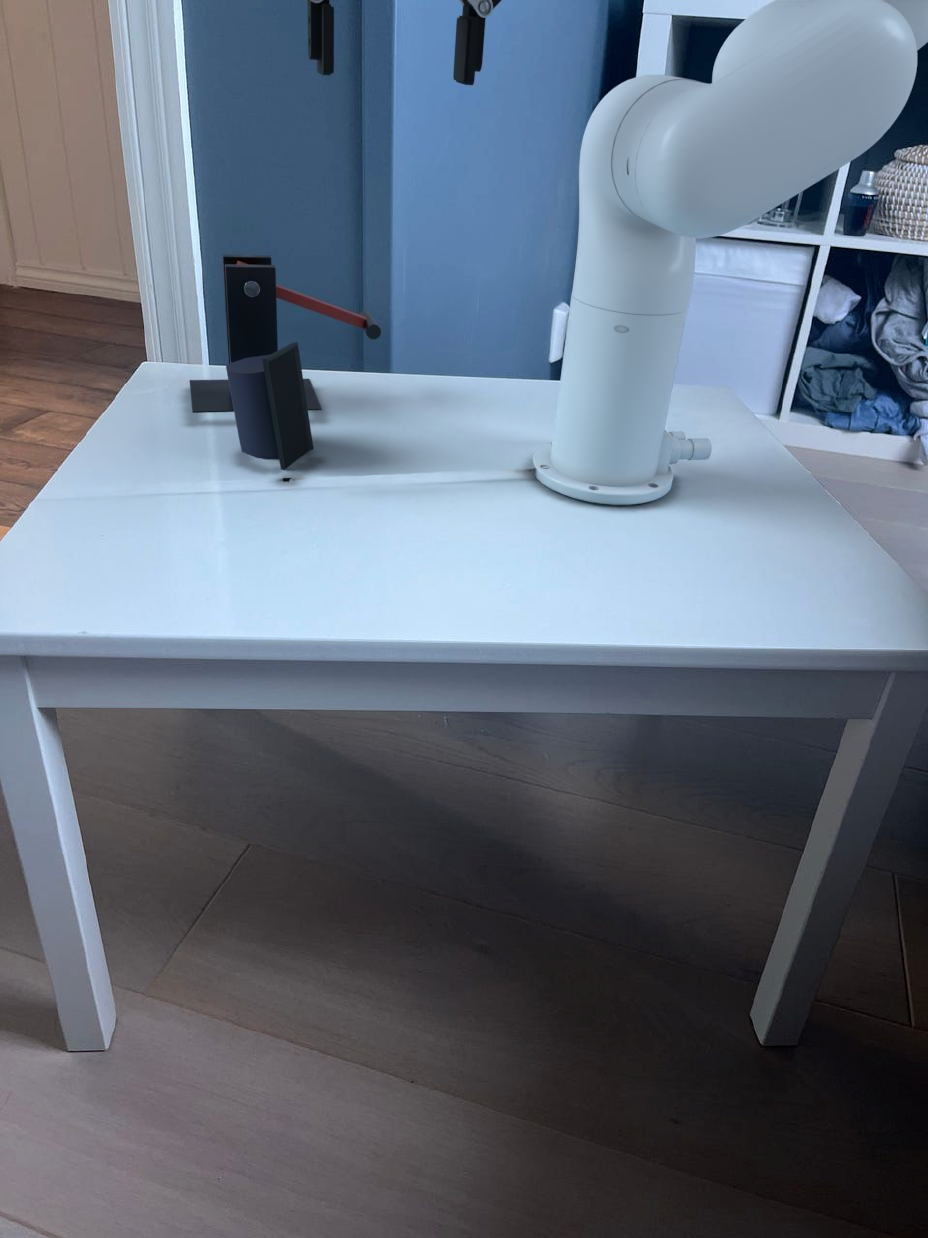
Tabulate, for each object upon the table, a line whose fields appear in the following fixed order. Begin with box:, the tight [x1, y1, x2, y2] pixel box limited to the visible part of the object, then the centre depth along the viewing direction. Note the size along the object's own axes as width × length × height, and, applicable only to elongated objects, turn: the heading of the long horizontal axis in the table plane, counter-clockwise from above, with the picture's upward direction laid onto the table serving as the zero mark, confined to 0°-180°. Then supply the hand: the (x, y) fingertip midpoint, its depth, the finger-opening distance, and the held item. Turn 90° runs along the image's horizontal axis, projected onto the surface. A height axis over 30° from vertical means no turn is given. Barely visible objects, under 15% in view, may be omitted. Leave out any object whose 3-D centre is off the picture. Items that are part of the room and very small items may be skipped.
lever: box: [237, 261, 382, 340], centre depth 92 cm, size 14×5×2 cm, turn 105°
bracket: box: [189, 253, 322, 414], centre depth 93 cm, size 12×9×14 cm
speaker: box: [225, 341, 314, 483], centre depth 83 cm, size 8×6×10 cm
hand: (395, 78), depth 66 cm, fingers open, 9 cm apart
